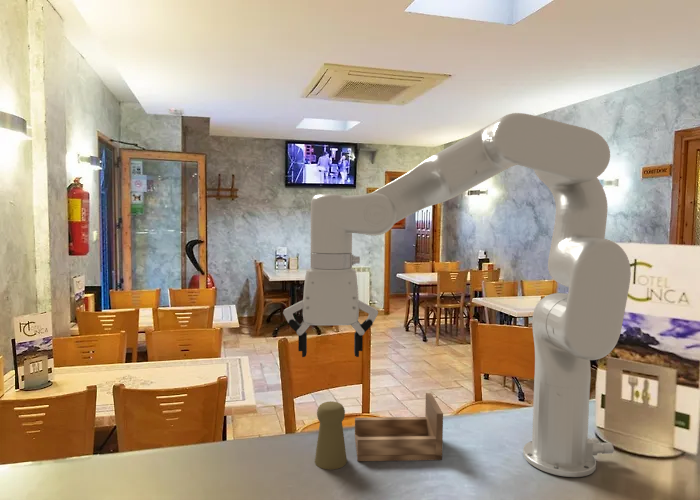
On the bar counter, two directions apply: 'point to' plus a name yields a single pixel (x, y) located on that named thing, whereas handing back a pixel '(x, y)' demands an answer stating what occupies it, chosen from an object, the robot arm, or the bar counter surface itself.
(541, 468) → the robot arm
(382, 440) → the walnut drawer
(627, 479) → the bar counter surface
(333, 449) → the cork
